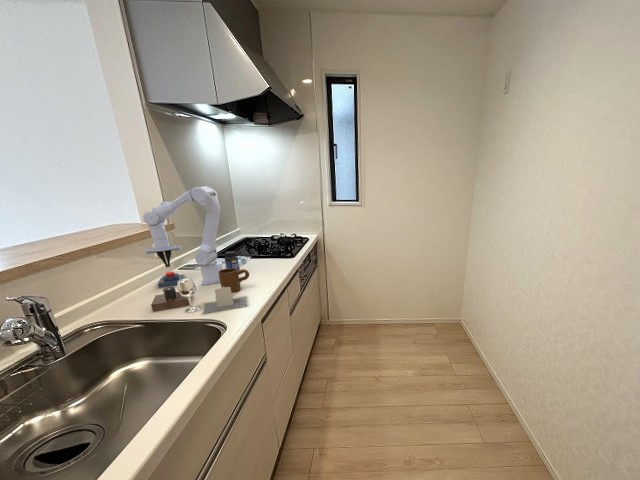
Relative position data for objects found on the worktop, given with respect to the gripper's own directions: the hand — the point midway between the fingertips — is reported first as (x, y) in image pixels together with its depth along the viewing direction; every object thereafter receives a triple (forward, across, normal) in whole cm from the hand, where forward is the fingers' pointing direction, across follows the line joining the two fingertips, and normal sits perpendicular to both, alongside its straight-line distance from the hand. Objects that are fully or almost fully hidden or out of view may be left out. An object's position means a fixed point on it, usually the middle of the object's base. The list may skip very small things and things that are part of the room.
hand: (168, 266), depth 147 cm
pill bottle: (+8, +27, -1) cm, 28 cm away
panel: (+8, -1, -30) cm, 31 cm away
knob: (+5, -1, -30) cm, 31 cm away
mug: (+8, +23, -29) cm, 38 cm away
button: (+5, 0, 0) cm, 5 cm away
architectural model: (+8, +16, -44) cm, 48 cm away
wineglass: (+8, +5, -42) cm, 43 cm away
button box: (+8, 0, 0) cm, 8 cm away
